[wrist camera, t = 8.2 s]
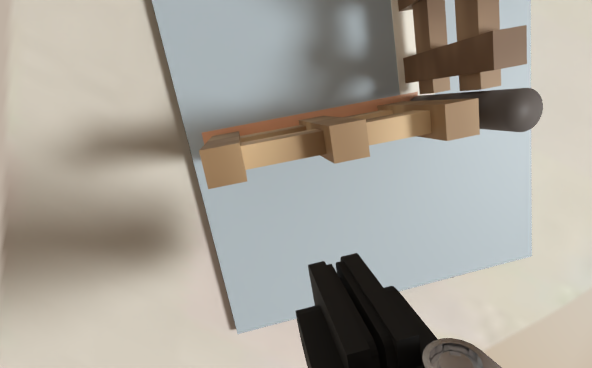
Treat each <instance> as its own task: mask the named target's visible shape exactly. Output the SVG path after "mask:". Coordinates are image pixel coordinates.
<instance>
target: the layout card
mask: <svg viewBox="0 0 592 368" xmlns="http://www.w3.org/2000/svg"><path fill="white" fill-rule="evenodd" d="M152 4H153V7H154V11H155V15H156V19H157V23H158V27H159V31H160V35H161V38H162V42H163V46H164V50H165V54H166V58H167V62H168V66H169V69H170V73H171V77H172V81H173V85H174V89H175V93H176V97H177V100H178V104H179V108H180V112H181V116H182V120H183V124H184V128H185V131H186V135H187V139H188V143H189V147H190V151H191V155H192V159H193V162H194V166H195V170H196V174H197V178H198V182H199V186H200V190H201V193H202V197H203V201H204V205H205V209H206V213H207V217H208V221H209V224H210V228H211V232H212V236H213V240H214V244H215V248H216V252H217V255H218V259H219V263H220V267H221V271H222V275H223V279H224V283H225V286H226V290H227V294H228V298H229V302H230V306H231V310H232V314H233V317H234V321H235V325H236V329H237V333H238V334H240V333H244V332H247V331H251V330H255V329H259V328H262V327H266V326H270V325H274V324H278V323H281V322H285V321H289V320H293V319H296V318H297V317H296V312H295V311H296V310H300V309H304V308H308V307H312V306H315V304H314V298H313V293H312V287H311V281H310V276H309V270H308V265H309V264H313V263H317V262H321V261H325V263H326V265H328V264H332V265H333V267H334V269H335V271H336V262H340V258H341V257H342V256H346V255H350V254H354V253H358V254H359V256H360V257H361V258H362V260H363V261H364V262H365V264H366V265H367V266H368V268H369V269H370V270H371V272H372V273H373V274H374V276H375V277H376V278H377V280H378V281H379V282H380V284H381V285H382V286H383V288H385V287H389V286H394V287H395V288H396V289H397V290H398V291H402V290H406V289H410V288H413V287H417V286H421V285H425V284H429V283H432V282H436V281H440V280H444V279H447V278H451V277H455V276H459V275H463V274H466V273H470V272H474V271H478V270H481V269H485V268H489V267H493V266H497V265H500V264H504V263H508V262H512V261H515V260H519V259H523V258H527V257H531V256H532V199H531V129H530V130H528V131H525V132H510V131H498V130H486V129H480V135H475V136H470V137H465V138H460V139H455V140H450V141H443V140H437V139H430V138H424V137H418V136H415V137H410V138H405V139H400V140H395V141H390V142H385V143H379V144H374V145H369V151H370V157H366V158H361V159H356V160H351V161H346V162H341V163H336V164H334V163H332V162H331V161H329V160H327V159H325V158H324V157H322V156H320V155H319V156H314V157H309V158H304V159H299V160H293V161H288V162H283V163H278V164H273V165H268V166H263V167H258V168H253V169H248V170H246V174H247V182H242V183H237V184H232V185H227V186H222V187H217V188H212V189H208V186H207V182H206V178H205V174H204V170H203V165H202V161H201V157H200V153H199V150H200V149H201V148H202V147H203V146H204V145H205V144H206V142H207V141H208V140H209V139H210V138H211V137H212V136H215V135H221V134H226V133H232V132H237V131H239V134H240V136H244V135H249V134H254V133H260V132H265V131H271V130H276V129H281V128H287V127H292V126H298V125H299V120H303V119H308V118H314V117H319V116H333V117H346V116H352V115H357V114H363V113H368V112H373V111H378V108H377V106H379V105H385V104H390V103H395V102H402V101H410V100H411V99H412V98H413V97H415V96H420V95H433V94H447V93H461V92H475V91H489V90H502V89H516V88H531V0H499V15H500V29H506V28H512V27H518V26H523V25H527V64H524V65H519V66H514V67H508V68H503V69H501V86H497V87H492V88H486V89H481V90H469V91H460V88H459V76H452V77H450V90H448V91H443V92H438V93H431V94H420V92H419V82H412V83H405V73H404V62H403V58H405V57H409V56H412V55H415V54H416V45H415V33H414V21H413V10H406V11H400V12H399V9H398V0H152ZM445 11H446V27H447V43H448V44H451V43H454V42H457V34H456V16H455V0H445ZM336 272H337V271H336Z"/></svg>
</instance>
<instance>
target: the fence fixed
mask: <svg viewBox="0 0 592 368" xmlns="http://www.w3.org/2000/svg"><path fill="white" fill-rule="evenodd" d="M398 9H399V12H400V11H406V10H413V21H414V33H415V45H416V54H415V55H412V56H409V57H405V58H403V62H404V73H405V83H412V82H419V92H420V94H431V93H438V92H443V91H448V90H450V77H452V76H459V88H460V91H469V90H481V89H486V88H492V87H497V86H501V69H503V68H508V67H514V66H519V65H524V64H527V25H523V26H518V27H512V28H506V29H500V15H499V0H455V16H456V34H457V42H454V43H451V44H448V43H447V27H446V11H445V0H398ZM471 98H478V99H479V128H480V129H486V130H498V131H510V132H525V131H528V130H530V129H531V128H533V127H534V126H535V125H536V124H537V122H538V121H539V119H540V117H541V114H542V110H543V103H542V99H541V97H540V95H539V93H538V92H537V91H535V90H534V89H531V88H516V89H502V90H489V91H475V92H461V93H447V94H433V95H420V96H415V97H413V98H412V99H411V100H410V101H425V100H448V99H471Z"/></svg>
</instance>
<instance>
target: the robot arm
mask: <svg viewBox="0 0 592 368" xmlns="http://www.w3.org/2000/svg"><path fill="white" fill-rule="evenodd" d="M308 270H309V276H310V281H311V287H312V293H313V298H314V304H315V306H312V307H308V308H304V309H300V310H296V311H295V312H296V317H297V322H298V327H299V332H300V337H301V341H302V346H303V350H304V354H305V358H306V362H307V366H308V368H501V367H500V366H499V365H498V364H497V363H496V362H494V361H493V360H492V359H491V358H489V357H488V356H487V355H486V354H485V353H484V352H482V351H481V350H480V349H478V348H477V347H475V346H474V345H472V344H470V343H468V342H465V341H463V340H458V339H453V338H443V339H439V340H438V339H437V338H436V337H435V335H434V334H433V333H432V332H431V331H430V329H429V328H428V327H427V326H426V324H425V323H424V322H423V321H422V320H421V318H420V317H419V316H418V315H417V313H416V312H415V311H414V310H413V308H412V307H411V306H410V305H409V304H408V302H407V301H406V300H405V299H404V297H403V296H402V295H401V294H400V293H399V291H398V290H397V289H396V288H395V287H394V286H389V287H385V288H383V286H382V285H381V284H380V282H379V281H378V280H377V278H376V277H375V276H374V274H373V273H372V272H371V270H370V269H369V268H368V266H367V265H366V264H365V262H364V261H363V260H362V258H361V257H360V256H359V254H358V253H354V254H350V255H346V256H342V257H341V258H340V262H336V271H337V272H336V271H335V269H334V267H333V265H332V264H328V265H326V263H325V261H321V262H317V263H313V264H309V265H308Z"/></svg>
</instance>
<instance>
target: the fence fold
mask: <svg viewBox="0 0 592 368" xmlns="http://www.w3.org/2000/svg"><path fill="white" fill-rule="evenodd" d="M377 108H378V111H373V112H368V113H363V114H357V115H352V116H346V117H333V116H319V117H314V118H308V119H303V120H299V125H298V126H292V127H287V128H281V129H276V130H271V131H265V132H260V133H254V134H249V135H244V136H240V134H239V131H237V132H232V133H226V134H221V135H215V136H212V137H211V138H210V139H209V140H208V141H207V142H206V144H205V145H204V146H203V147H202V148H201V149H200V150H199V153H200V157H201V161H202V165H203V170H204V174H205V178H206V182H207V186H208V189H212V188H217V187H222V186H227V185H232V184H237V183H242V182H247V174H246V170H248V169H253V168H258V167H263V166H268V165H273V164H278V163H283V162H288V161H293V160H299V159H304V158H309V157H314V156H319V155H320V156H322V157H324V158H325V159H327V160H329V161H331V162H332V163H334V164H336V163H341V162H346V161H351V160H356V159H361V158H366V157H370V151H369V145H374V144H379V143H385V142H390V141H395V140H400V139H405V138H410V137H415V136H418V137H424V138H430V139H437V140H443V141H450V140H455V139H460V138H465V137H470V136H475V135H480V128H479V99H478V98H471V99H448V100H425V101H402V102H395V103H390V104H385V105H379V106H377Z"/></svg>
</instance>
